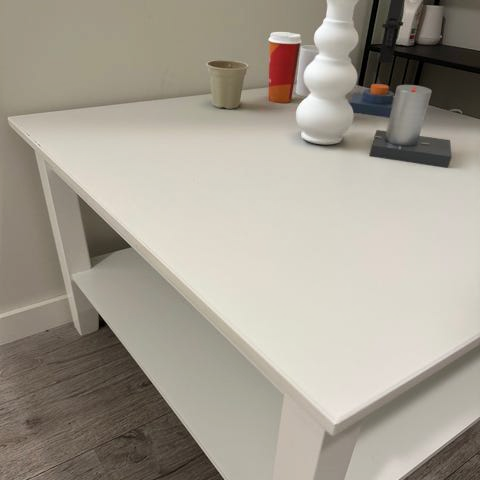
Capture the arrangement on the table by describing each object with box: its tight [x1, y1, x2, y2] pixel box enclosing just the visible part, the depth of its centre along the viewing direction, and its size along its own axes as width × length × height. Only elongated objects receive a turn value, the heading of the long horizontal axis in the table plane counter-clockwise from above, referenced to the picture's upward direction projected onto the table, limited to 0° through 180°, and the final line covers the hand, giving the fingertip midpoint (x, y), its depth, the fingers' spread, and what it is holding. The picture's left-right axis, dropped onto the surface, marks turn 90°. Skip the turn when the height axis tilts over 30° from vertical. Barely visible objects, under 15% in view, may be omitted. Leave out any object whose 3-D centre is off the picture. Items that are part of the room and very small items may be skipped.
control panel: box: [369, 129, 453, 168], centre depth 90 cm, size 14×10×2 cm
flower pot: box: [205, 59, 250, 110], centre depth 108 cm, size 9×9×9 cm
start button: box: [370, 83, 390, 95], centre depth 111 cm, size 4×4×2 cm
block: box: [348, 88, 395, 119], centre depth 113 cm, size 12×10×4 cm
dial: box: [385, 84, 433, 146], centre depth 87 cm, size 6×6×9 cm
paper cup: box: [267, 31, 303, 104], centre depth 113 cm, size 8×8×14 cm
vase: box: [295, 0, 360, 146], centre depth 87 cm, size 11×11×25 cm
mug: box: [295, 44, 319, 98], centre depth 120 cm, size 12×8×10 cm, turn 86°
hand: (385, 60), depth 107 cm, fingers open, 3 cm apart
